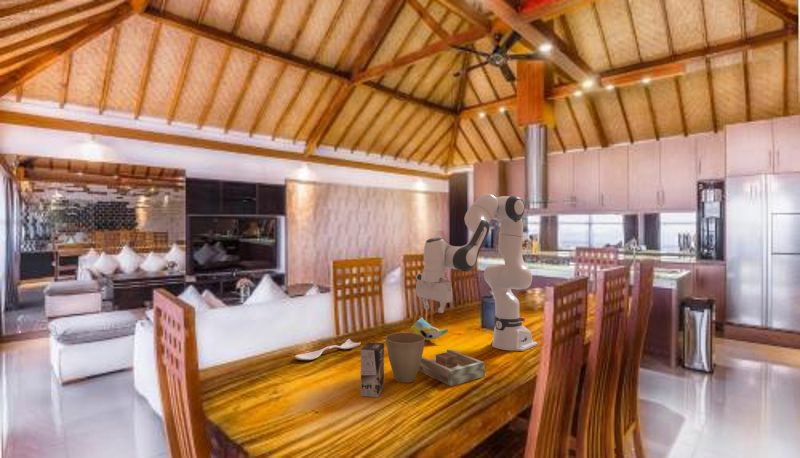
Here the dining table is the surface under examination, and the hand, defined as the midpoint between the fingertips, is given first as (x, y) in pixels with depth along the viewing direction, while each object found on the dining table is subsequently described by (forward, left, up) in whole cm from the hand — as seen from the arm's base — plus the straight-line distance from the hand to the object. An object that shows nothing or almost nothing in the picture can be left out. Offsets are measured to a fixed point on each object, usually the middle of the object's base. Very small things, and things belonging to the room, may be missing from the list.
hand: (433, 310), depth 171 cm
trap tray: (0, +10, -23) cm, 25 cm away
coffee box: (+34, +9, -23) cm, 42 cm away
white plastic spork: (+29, -41, -24) cm, 55 cm away
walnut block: (0, +8, -21) cm, 22 cm away
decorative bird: (-26, -35, -23) cm, 50 cm away
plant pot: (+18, +6, -23) cm, 30 cm away
